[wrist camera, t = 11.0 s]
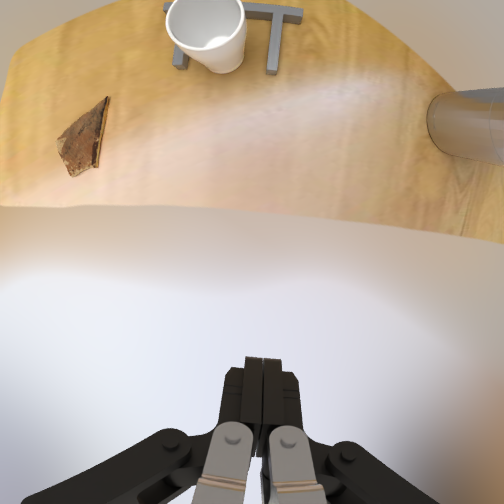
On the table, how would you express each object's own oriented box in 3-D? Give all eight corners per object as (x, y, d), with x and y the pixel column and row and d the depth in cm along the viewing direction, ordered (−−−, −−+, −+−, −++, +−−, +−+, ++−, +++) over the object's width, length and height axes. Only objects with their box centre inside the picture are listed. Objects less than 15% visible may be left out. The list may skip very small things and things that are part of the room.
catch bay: (300, 16, 32) (303, 8, 29) (294, 77, 35) (296, 73, 32) (170, 10, 32) (164, 2, 29) (161, 69, 35) (154, 65, 32)
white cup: (190, 42, 34) (156, 0, 20) (241, 26, 33) (232, -25, 19) (205, 86, 36) (175, 62, 22) (256, 71, 35) (255, 37, 21)
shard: (112, 96, 37) (106, 95, 35) (136, 141, 39) (130, 141, 37) (58, 139, 39) (51, 140, 37) (79, 181, 41) (73, 184, 39)
